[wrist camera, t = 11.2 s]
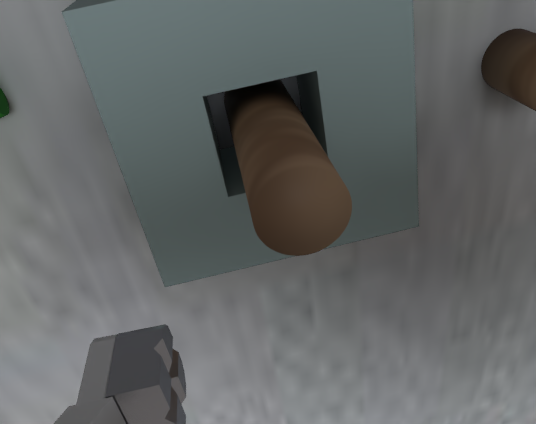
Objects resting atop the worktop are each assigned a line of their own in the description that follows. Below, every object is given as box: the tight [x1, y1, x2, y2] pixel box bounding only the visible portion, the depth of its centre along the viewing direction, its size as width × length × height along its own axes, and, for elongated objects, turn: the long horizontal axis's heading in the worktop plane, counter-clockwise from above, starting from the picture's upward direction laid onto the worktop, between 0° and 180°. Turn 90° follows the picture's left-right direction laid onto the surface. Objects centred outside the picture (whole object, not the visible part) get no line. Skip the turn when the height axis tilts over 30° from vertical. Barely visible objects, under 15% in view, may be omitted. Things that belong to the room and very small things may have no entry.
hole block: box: [62, 0, 419, 287], centre depth 22 cm, size 12×12×5 cm
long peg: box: [224, 79, 352, 256], centre depth 20 cm, size 3×3×11 cm
